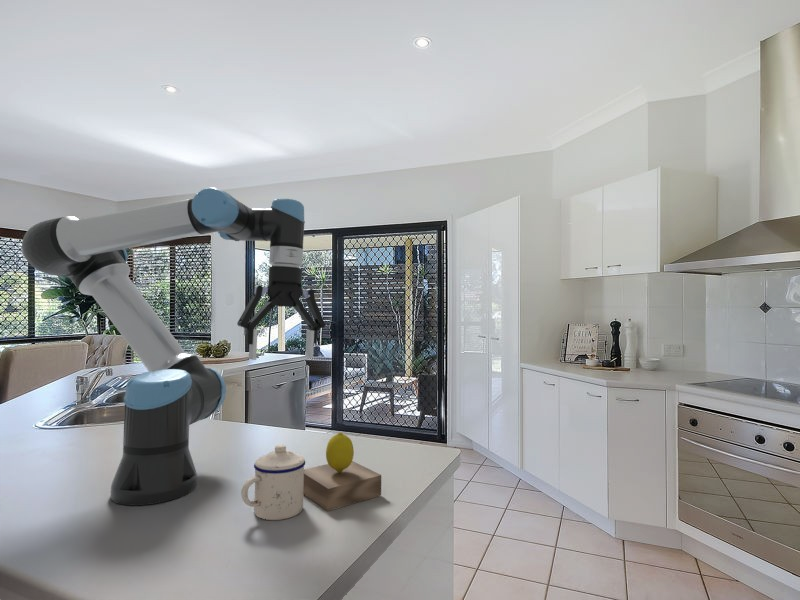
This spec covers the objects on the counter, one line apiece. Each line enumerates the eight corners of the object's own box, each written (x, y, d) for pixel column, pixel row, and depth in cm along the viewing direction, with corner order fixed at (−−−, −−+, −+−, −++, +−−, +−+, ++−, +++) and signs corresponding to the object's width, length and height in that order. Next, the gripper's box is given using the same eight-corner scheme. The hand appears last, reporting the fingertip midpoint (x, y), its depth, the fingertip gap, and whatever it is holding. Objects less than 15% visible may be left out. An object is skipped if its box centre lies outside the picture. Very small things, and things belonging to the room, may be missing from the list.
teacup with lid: (284, 496, 88) (286, 436, 88) (314, 509, 82) (316, 445, 82) (227, 516, 78) (229, 449, 79) (256, 533, 73) (258, 461, 73)
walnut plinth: (327, 511, 81) (328, 488, 81) (298, 490, 91) (299, 470, 91) (381, 495, 89) (381, 475, 89) (348, 477, 98) (349, 459, 98)
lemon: (351, 477, 87) (352, 436, 87) (323, 477, 87) (324, 435, 87) (354, 468, 92) (355, 429, 93) (328, 467, 93) (329, 428, 93)
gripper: (235, 260, 93) (231, 361, 92) (341, 270, 108) (337, 358, 107) (225, 262, 99) (221, 358, 98) (326, 272, 114) (323, 355, 113)
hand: (281, 358), depth 103 cm, fingers open, 13 cm apart
